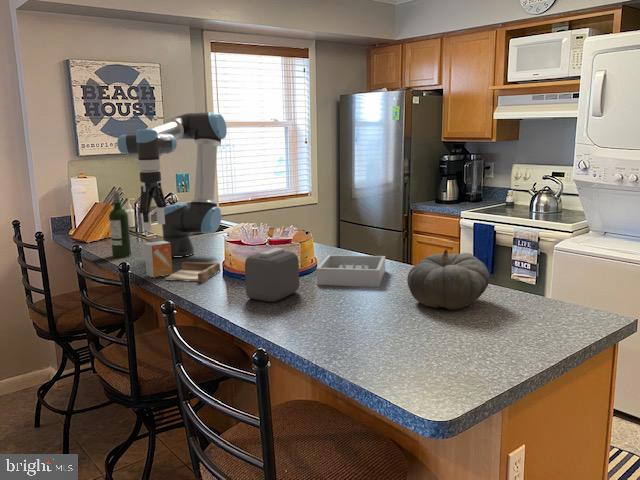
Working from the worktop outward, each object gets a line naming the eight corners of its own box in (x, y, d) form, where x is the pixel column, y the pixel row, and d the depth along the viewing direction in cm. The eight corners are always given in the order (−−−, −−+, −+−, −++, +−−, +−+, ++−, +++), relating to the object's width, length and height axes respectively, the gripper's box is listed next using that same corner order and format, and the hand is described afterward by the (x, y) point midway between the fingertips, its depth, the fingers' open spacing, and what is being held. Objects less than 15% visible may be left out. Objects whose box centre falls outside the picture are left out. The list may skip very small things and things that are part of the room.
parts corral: (328, 269, 218) (328, 254, 217) (385, 271, 214) (385, 256, 213) (316, 284, 197) (316, 268, 196) (379, 286, 192) (379, 270, 191)
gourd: (491, 285, 181) (487, 236, 176) (492, 322, 159) (488, 267, 153) (414, 288, 189) (408, 241, 183) (406, 324, 166) (399, 271, 161)
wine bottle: (109, 257, 249) (102, 191, 244) (120, 253, 257) (114, 189, 251) (124, 258, 247) (118, 191, 241) (134, 254, 254) (129, 189, 249)
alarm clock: (275, 288, 194) (273, 244, 191) (302, 292, 188) (301, 247, 185) (246, 300, 180) (244, 254, 177) (274, 305, 174) (272, 257, 171)
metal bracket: (334, 259, 211) (373, 260, 208) (335, 272, 214) (374, 273, 211) (328, 279, 199) (369, 280, 196) (329, 292, 201) (370, 294, 198)
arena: (183, 270, 222) (183, 262, 221) (220, 271, 219) (219, 263, 218) (163, 281, 205) (162, 272, 205) (202, 283, 202) (201, 273, 202)
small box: (154, 278, 210) (151, 245, 208) (146, 276, 215) (143, 243, 212) (173, 274, 215) (170, 242, 213) (165, 272, 220) (162, 240, 218)
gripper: (152, 168, 217) (157, 221, 222) (125, 174, 193) (131, 233, 197) (171, 168, 217) (175, 221, 221) (146, 174, 192) (152, 233, 197)
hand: (154, 227), depth 209 cm, fingers open, 13 cm apart
